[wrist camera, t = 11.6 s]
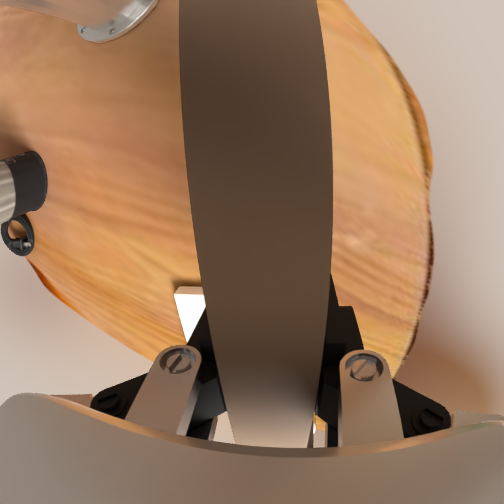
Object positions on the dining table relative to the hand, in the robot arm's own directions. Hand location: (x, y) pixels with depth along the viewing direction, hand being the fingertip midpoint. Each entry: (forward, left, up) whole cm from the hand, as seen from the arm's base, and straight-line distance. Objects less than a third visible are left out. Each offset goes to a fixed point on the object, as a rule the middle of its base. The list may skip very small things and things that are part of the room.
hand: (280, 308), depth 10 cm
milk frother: (-4, -38, -18) cm, 42 cm away
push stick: (0, 0, -1) cm, 1 cm away
